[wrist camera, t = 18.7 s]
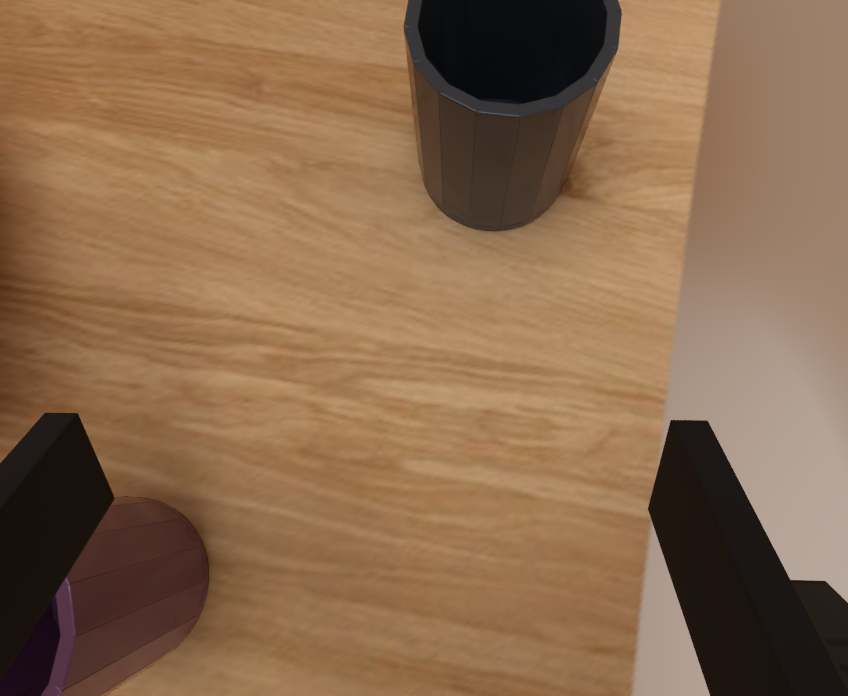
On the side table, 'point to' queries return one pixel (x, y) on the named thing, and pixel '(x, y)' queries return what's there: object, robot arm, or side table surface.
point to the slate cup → (504, 99)
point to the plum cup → (116, 605)
